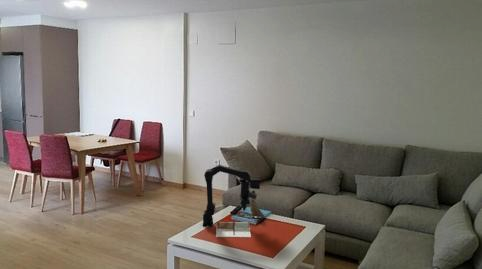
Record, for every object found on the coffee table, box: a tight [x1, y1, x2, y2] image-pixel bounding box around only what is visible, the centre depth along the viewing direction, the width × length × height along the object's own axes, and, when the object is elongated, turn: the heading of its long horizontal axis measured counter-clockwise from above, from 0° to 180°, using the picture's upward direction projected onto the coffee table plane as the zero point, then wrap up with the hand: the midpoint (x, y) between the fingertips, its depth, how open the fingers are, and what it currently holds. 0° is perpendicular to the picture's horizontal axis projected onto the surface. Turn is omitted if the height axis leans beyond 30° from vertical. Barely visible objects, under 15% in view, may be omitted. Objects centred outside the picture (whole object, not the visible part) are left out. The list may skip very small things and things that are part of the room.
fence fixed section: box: [216, 221, 236, 229], centre depth 266 cm, size 12×1×5 cm, turn 92°
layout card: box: [215, 226, 252, 238], centre depth 262 cm, size 23×17×1 cm
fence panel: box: [234, 221, 251, 229], centre depth 267 cm, size 10×1×4 cm, turn 92°
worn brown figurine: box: [249, 198, 265, 219], centre depth 289 cm, size 12×6×18 cm, turn 86°
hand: (244, 209), depth 271 cm, fingers open, 3 cm apart
